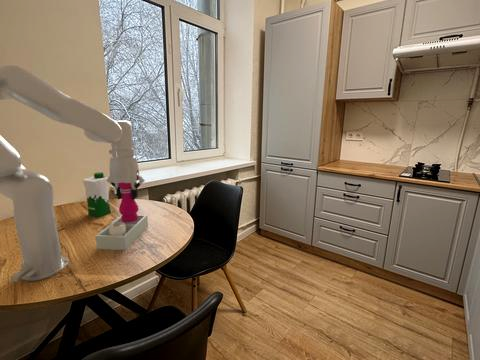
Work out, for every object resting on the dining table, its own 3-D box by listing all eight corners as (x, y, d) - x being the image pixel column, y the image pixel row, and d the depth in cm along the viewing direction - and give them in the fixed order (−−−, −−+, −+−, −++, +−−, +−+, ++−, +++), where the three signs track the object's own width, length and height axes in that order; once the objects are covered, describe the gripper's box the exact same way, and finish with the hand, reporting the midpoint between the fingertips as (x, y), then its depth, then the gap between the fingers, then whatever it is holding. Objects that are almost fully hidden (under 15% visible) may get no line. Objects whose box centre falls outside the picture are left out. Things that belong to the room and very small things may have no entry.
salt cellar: (122, 246, 95) (120, 224, 93) (107, 245, 96) (105, 224, 93) (129, 238, 101) (127, 218, 99) (115, 238, 101) (113, 218, 99)
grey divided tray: (126, 252, 93) (124, 237, 92) (97, 251, 93) (95, 236, 92) (148, 228, 113) (147, 215, 111) (124, 227, 113) (122, 214, 112)
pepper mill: (117, 219, 106) (111, 172, 101) (134, 214, 111) (129, 169, 106) (125, 224, 102) (119, 175, 96) (142, 219, 107) (138, 172, 102)
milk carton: (113, 212, 130) (109, 173, 125) (98, 218, 122) (92, 177, 117) (101, 209, 133) (96, 171, 128) (84, 215, 125) (79, 175, 120)
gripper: (95, 154, 96) (101, 200, 101) (140, 155, 96) (144, 202, 100) (106, 151, 103) (111, 194, 108) (148, 152, 103) (151, 196, 107)
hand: (127, 197), depth 104 cm, fingers closed on pepper mill, 5 cm apart
